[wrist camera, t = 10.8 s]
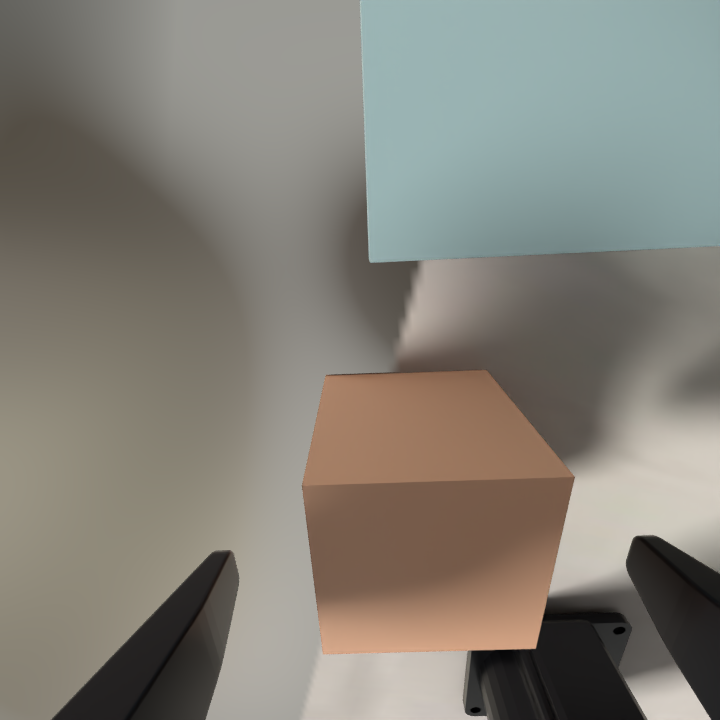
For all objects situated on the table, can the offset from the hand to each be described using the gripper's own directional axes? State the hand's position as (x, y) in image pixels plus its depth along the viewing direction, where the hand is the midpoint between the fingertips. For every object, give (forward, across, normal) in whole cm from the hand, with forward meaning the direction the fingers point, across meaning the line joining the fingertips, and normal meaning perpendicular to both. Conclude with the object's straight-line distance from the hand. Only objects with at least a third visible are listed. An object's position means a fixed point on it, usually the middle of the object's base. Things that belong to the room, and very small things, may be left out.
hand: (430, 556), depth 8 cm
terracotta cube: (+4, 0, 0) cm, 4 cm away
